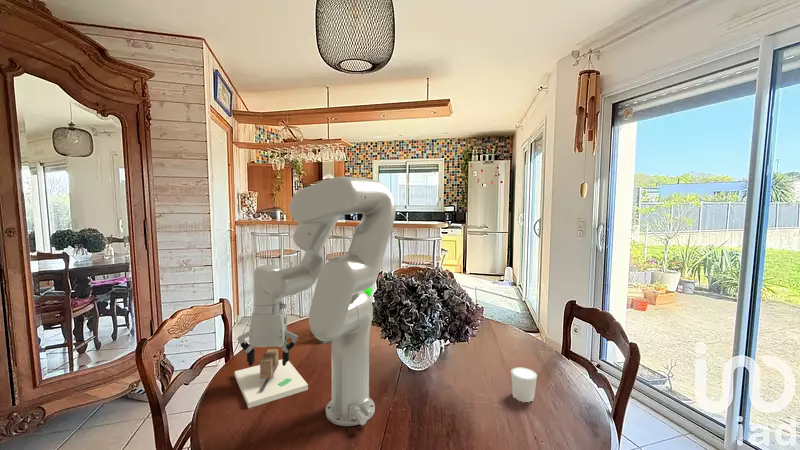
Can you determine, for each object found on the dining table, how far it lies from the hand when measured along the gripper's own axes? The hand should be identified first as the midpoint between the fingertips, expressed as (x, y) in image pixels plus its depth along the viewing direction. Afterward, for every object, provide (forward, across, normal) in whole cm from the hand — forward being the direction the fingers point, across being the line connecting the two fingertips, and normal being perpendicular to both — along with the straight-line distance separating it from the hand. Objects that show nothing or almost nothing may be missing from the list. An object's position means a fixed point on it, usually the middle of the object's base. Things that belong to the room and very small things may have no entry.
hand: (268, 363), depth 103 cm
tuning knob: (+4, -1, +2) cm, 4 cm away
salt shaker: (+6, -13, -30) cm, 33 cm away
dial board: (+6, -1, 0) cm, 6 cm away
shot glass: (+4, -73, +13) cm, 74 cm away
